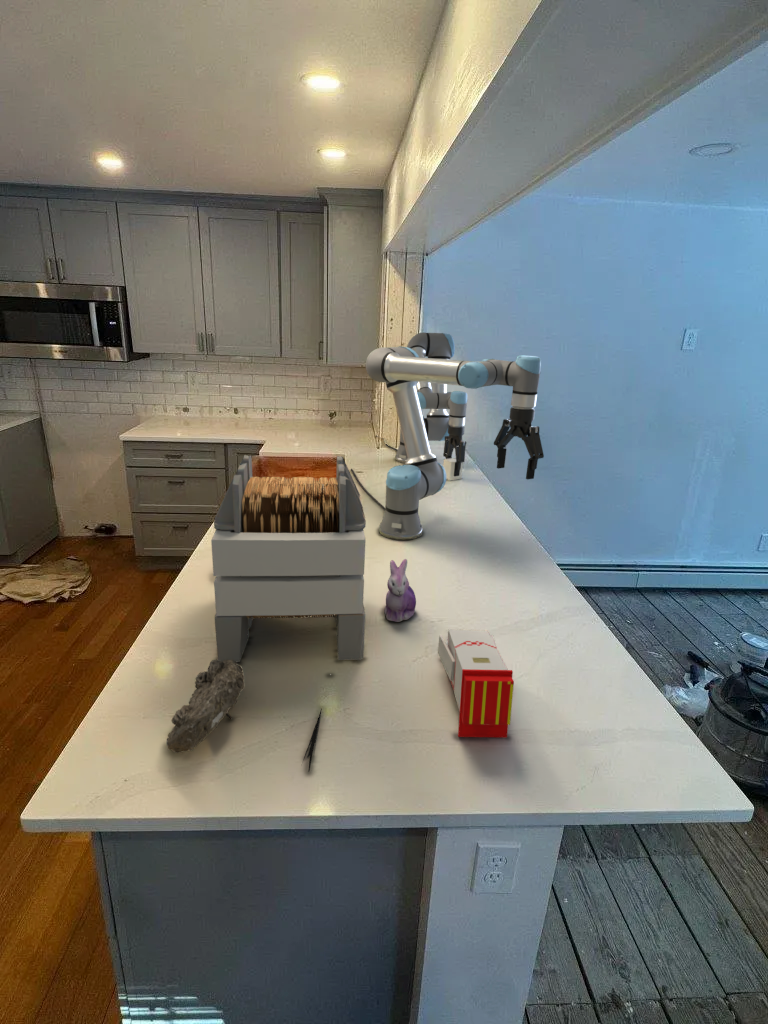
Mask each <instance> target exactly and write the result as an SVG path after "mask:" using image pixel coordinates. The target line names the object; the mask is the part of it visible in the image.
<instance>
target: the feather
mask: <svg viewBox="0 0 768 1024" xmlns="http://www.w3.org/2000/svg"><path fill="white" fill-rule="evenodd" d="M329 675H330V676H331V675H332V674H331V673H330V674H329ZM322 710H323V707H321V708H320V710H319V713H318V716H317V719H316V723H315V725H314V728H313V731H312V733H311V737H310V739H309V742H308V745H307V748H306V751H305V754H304V757H303V760H302V763H301V767H302V765H303V763H304V761H305V758H308V759H309V760H308V762H307V763H308V764H307V766H308V771H310V770H311V766H312V765H311V764H312V760H313V757H315V756H314V755H315V751H316V749H315V746H317V739H318V733H319V729H320V722H321V717H322V712H323V711H322ZM313 754H314V755H313ZM306 755H307V757H306Z"/></svg>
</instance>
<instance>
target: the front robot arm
mask: <svg viewBox="0 0 768 1024" xmlns="http://www.w3.org/2000/svg"><path fill="white" fill-rule="evenodd" d="M516 356H517V355H516ZM541 367H542V359H541V358H540V357H539V356H537V355H523V354H522V355H518V356H517V357H516V358H515V360H514V361H513V360H502V359H495V358H484V359H482V360H481V361H475V360H474V361H473V360H461V359H450V360H447V359H434V358H428V357H425V358H420V357H419V356H418V355H417V353H416V352H415V351H414V350H412V349H411V348H408V347H407V346H391V347H378V348H376V349H373V350H372V351H371V352H370V353H369V354H368V356H367V357H366V360H365V370H366V373H367V375H368V377H369V378H371V380H373V381H375V382H376V383H385V385H386V390H388V391H389V392H390V393H391V394H392V397H393V398H392V399H393V401H394V405H395V409H396V414H397V418H398V422H399V423H398V424H399V428H400V427H401V431H402V436H403V440H404V444H405V448H406V452H407V457H408V459H407V461H406V463H404V464H399V465H395V466H392V467H391V468H390V469H389V470H388V471H387V474H386V479H385V504H384V505H385V507H384V505H382V504H381V503H380V502H379V501H378V500H377V499H376V498H375V497H374V496H373V495H372V494H371V493H369V491H368V490H367V489H366V488H365V487H364V485H363V484H362V483H361V482H360V480H359V479H358V477H357V475H356V473H355V471H354V469H353V468H350V471H351V473H352V475H353V477H354V478H355V481H356V482H357V483H358V485H359V486H360V488H361V489H362V490H363V491H364V492H365V494H366V495H368V496H369V497H370V498H371V500H372V501H374V502H375V503H376V505H378V506H379V507H380V508H381V509H382V510H383V512H384V513H383V515H382V519H381V522H379V525H378V533H379V534H380V535H381V536H382V537H385V538H387V539H389V540H395V541H410V540H415V539H418V538H420V537H421V536H422V535H423V525H422V524H421V518H420V515H419V507H420V506H419V505H420V500H422V499H425V498H427V497H430V496H434V495H436V494H437V493H439V492H440V491H442V490H443V489H444V487H445V485H446V482H447V479H446V471H445V469H444V467H443V464H441V463H440V462H438V459H437V458H438V457H437V456H436V455H435V454H434V453H432V450H431V447H430V443H429V442H430V441H428V438H427V434H426V429H425V425H424V421H423V416H424V415H423V412H422V409H421V408H420V403H419V399H418V395H417V390H416V385H417V384H418V382H427V383H438V384H447V386H448V385H449V386H459V387H464V388H466V389H471V390H473V389H476V390H477V389H480V388H483V387H490V386H506V387H512V393H511V398H510V399H511V400H510V406H511V407H510V408H509V418H505V419H503V420H502V423H501V424H502V425H501V427H500V429H499V431H498V433H497V435H496V436H495V439H494V441H493V445H494V446H496V448H497V453H496V457H497V462H496V469H504V468H505V465H506V459H507V458H506V457H507V450H508V449H507V446H508V444H509V443H510V442H511V441H512V440H513V439H514V437H517V438H519V439H521V441H523V443H524V445H525V447H526V450H527V452H528V455H529V458H528V459H527V467H526V475H525V479H526V480H527V481H528V480H533V479H534V478H535V473H536V470H537V468H538V461H539V460H540V459H544V457H545V454H544V450H543V449H544V448H543V445H542V441H541V436H540V426H538V425H537V426H533V425H532V423H533V422H534V420H535V416H536V415H535V414H536V409H535V407H536V406H537V398H538V390H539V384H540V383H539V382H540V378H541V377H540V376H541V373H542V372H541ZM422 415H423V416H422Z"/></svg>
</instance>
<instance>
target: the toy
mask: <svg viewBox="0 0 768 1024" xmlns="http://www.w3.org/2000/svg"><path fill="white" fill-rule="evenodd" d="M446 640H447V643H446V641H445V639H444V636H443V635H442V634H439V637H438V646H437V656H438V657H439V659H440V661H441V663H442V666H443V668H444V670H445V672H446V674H447V677H448V679H449V681H450V684H451V687H452V690H453V693H454V697H455V701H456V705H457V708H458V711H459V714H458V715H459V716H458V730H457V731H458V732H457V737H458V738H508V731H509V726H510V725H511V717H512V707H513V697H514V696H513V695H514V684H515V680H514V679H513V673H514V671H513V670H512V669H508V667H507V665H506V662H505V661H504V659H503V658H502V655H501V653H500V651H499V649H498V647H497V643H496V639H495V637H494V635H493V634H491V632H490V631H489V629H467V628H466V629H465V628H463V629H461V628H460V629H459V628H448V630H447V639H446Z"/></svg>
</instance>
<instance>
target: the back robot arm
mask: <svg viewBox="0 0 768 1024" xmlns="http://www.w3.org/2000/svg"><path fill="white" fill-rule="evenodd" d="M406 347H408V348H411V349H412V350H414V351H415V352H416V353H417V355H418V356H419V357H420V358H434V359H447V360H451V359H452V358H453V357H454V356H455V352H456V351H455V350H456V349H455V347H456V346H455V340H454V338H453V336H452V334H450V333H446V332H445V333H444V332H418V333H416V334H415V335H413V337H411V338H410V340H409V341H408V343H407V345H406ZM416 390H417V395H418V399H419V403H420V408H421V410H429V411H428V412H427V413H426V417H425V416H424V415H423V414H422V416H423V421H424V425H425V429H426V434H427V438H428V442H443V441H444V445H443V453H442V455H443V457H444V459H449V458H453V457H452V455H453V452H454V453H455V458H456V462H455V468H454V476H459V474H460V469H461V463H462V462H463V463H465V460H466V447H467V441H464V440H463V436H464V434H465V425H466V417H467V416H466V415H467V407H468V406H467V405H468V393H467V392H466V391H461V390H454V391H448V384H438V383H427V382H418V384H417V385H416ZM447 410H449V413H448V411H447ZM399 428H400V430H399V446H398V448H395V447H393V446H392V445H389V444H388V443H387V444H388V445H389V446H388V445H387V444H385V446H386V447H387V448H389V449H391V450H393V451H395V452H396V454H395V457H394V458H395V461H396V462H399V463H401V464H402V463H403V464H405V463H406V461H407V459H408V457H407V452H406V448H405V444H404V440H403V436H402V431H401V427H400V426H399ZM375 437H377V435H375Z"/></svg>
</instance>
